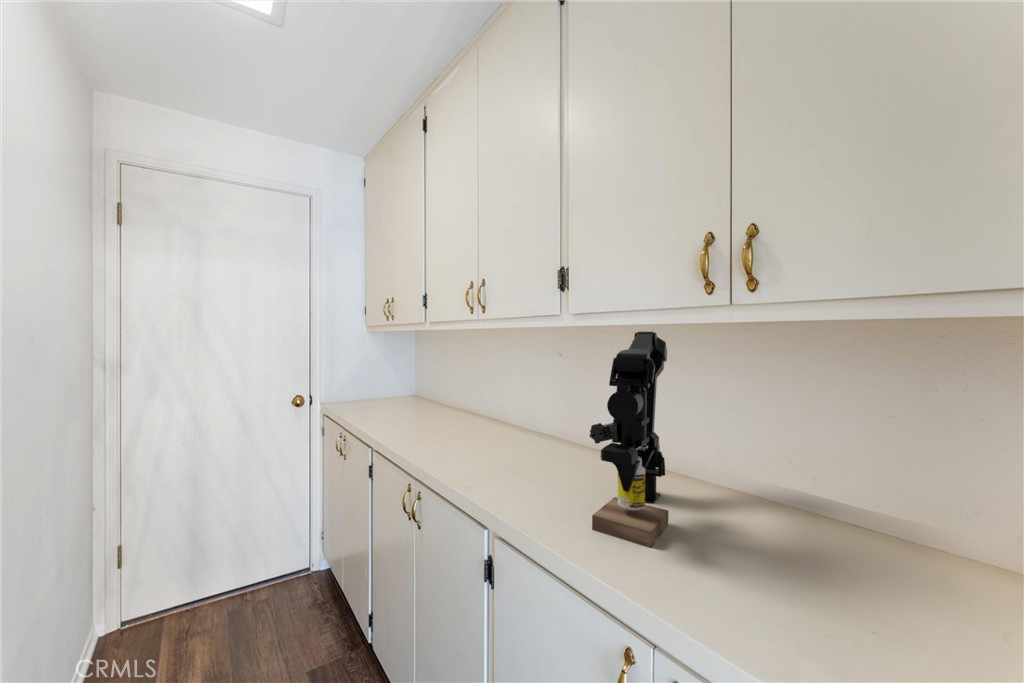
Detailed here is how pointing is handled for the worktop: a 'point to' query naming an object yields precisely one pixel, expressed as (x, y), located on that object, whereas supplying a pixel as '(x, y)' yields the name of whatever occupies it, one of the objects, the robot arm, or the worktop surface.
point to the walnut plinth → (631, 522)
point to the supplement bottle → (633, 491)
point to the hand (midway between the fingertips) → (631, 486)
